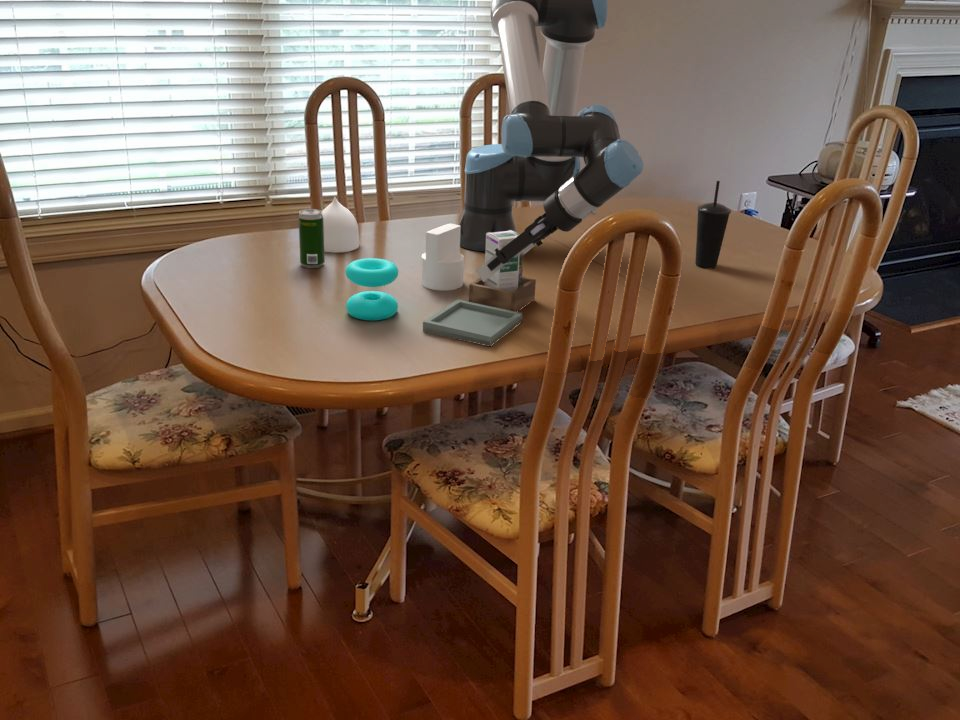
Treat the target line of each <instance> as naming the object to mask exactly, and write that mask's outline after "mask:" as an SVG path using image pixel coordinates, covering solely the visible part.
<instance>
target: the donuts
mask: <svg viewBox="0 0 960 720" xmlns="http://www.w3.org/2000/svg"><path fill="white" fill-rule="evenodd" d="M345 275H346V277H347V279H348V280H349V281H350V282H351V283H353V284H355V285H357V286H361V287H365V288H366V287H367V288H380V287H383V286H387V285H390V284H392V283H393V282H394V281H396V279H397V277H398V276H399V269H398V266H397V265H396V264H395V263H393V262H392V261H390V260H387V259H383V258H376V257H374V258H373V257H368V258H367V257H366V258H361V259H360V258H358V259H356V260H353V261H351V262H350V263H349V264H348V265H347V266H346V269H345ZM345 306H346V307H345V308H346V311H347V313H348V314H349V315H350V316H351V317H352V318H356V319H359V320H362V321H372V322H373V321H382V320H386V319H389V318H392V317H393V316H394V315H395V314H396V313H397V312H398V309H399V303H398V302H397V300H396V298H395V297H393V296H392V295H391V294H389V293H386V292H382V291H379V290H378V291H377V290H367V291H361V292H357V293H355V294H353V295H352V296H350V297H349V298H348V299H347V302H346V304H345Z"/></svg>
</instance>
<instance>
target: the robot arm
mask: <svg viewBox="0 0 960 720" xmlns="http://www.w3.org/2000/svg"><path fill="white" fill-rule="evenodd" d="M608 5H609V4H608V0H492V1H491V6H490V22H491V27H492V28H491V29H492V30H493V32H494V33H495V35H496V36H498V42H499V49H500V56H501V61H502V62H501V63H502V69H503V75H504V82H505V89H506V94H507V102H508V108H509V114H507V115H505V116H504V117H503V119H502V123H501V133H500V137H501V143H494V144H485V145H481V146H477V147H475V148H472V149H471V150H469V151H468V153H467V154H466V159H465V168H464V173H465V174H464V175H465V177H464V178H465V179H464V198H463V199H464V201H463V202H464V205H463V212H462V215H461V218H460V221H459V223H458V225H460V226H461V229H460V248H464V249H467V250H471V251H478V252H486V233H493V232H503V231H509V230H512V231H514V232H517V233H518V231H517V230H518V229H517V228H516V224H515V220H514V217H513V216H514V215H513V205H514V204H513V202H543V205H542V206H543V210H544V214H541V215H539V216H538V217H537V218H536V219H534V221H533V222H532V223H531V224H529V225H528V226H526V228H525V229H524V230H523V231H522V232H521V233H519V234H520V235H519V236H517V237H516V238H515V239H514V240H512V241H511V242H510V243H508V244H507V245H506V246H504V247H503V248H502V249H501V250H498V248H496V249H495V252H496V254H495V255H494V256H492V257H491V258H490V259H489V260H488V261H486V262H485V261H484V263H483V264H482V265H480V266H479V267H478V268H477V269H475V273H476V274H477V275H478V277H479V278H481V279H482V281H483V282H484V281H486V280H487V279H488V278H489V277H491V276H492V275H493V274H494V273H496V272H497V271H498V270H499V269H500V268H502V267H503V266H504V265H505V264H507V263H508V261H509V260H510V259H511V258H513V257H514V256H515V255H517V254H518V253H519V252H521V251H522V250H523V249H524V254H523V256H524V255H526V254H527V253H528V252H529V251H530V250H531V249H533V248H534V247H535V246H537V247H538V248H539V247H541V246H542V245H543V244H544V242H543V240H545V239H546V238H548V237H549V236H550V235H551V234H553V233H555V232H556V231H557V230H560V231H562V232H564V233H565V232H566V233H567V232H570V231H572V230H573V229H574V228H575V227H577V226H578V225H579V224H581V223H582V222H583V220H584V219H586V218H588V217H589V216H590V215H591V214H592V216H593V215H597V213H598V210H597V209H599V208H601V206H603V205H604V204H605V203H607V202H608V201H609V200H610V199H612V198H613V197H614V196H616V195H617V194H618V193H620V192H621V191H622V190H623V189H624V188H626V187H628V186H629V185H631V183H632V182H633V181H634V180H636V178H637V177H639V175H641V174H642V172H643V170H644V162H643V159H642V157H641V156H640V154H639V151H638V150H637V149H636V148H635V146H634V145H633V144H632V143H631V142H629V141H628V140H626V139H623V138H621V135H620V131H619V126H618V123H617V121H616V119H615V117H614V115H613V112H612V111H611V110H610V109H609V107H607V106H605V105H603V104H592V105H591V104H590V105H589V106H587V107H583V108H582V109H581V110H580V111H579V112H578V113H577V115H575V113H576V107H577V101H578V96H579V95H578V94H579V88H580V81H581V76H582V71H583V70H582V69H583V63H584V56H585V51H586V45H588V44H589V43H591V42H592V41H593V40H594V38H595V33H596V29H597V30H601V29H602V28H604V27H605V25H606V23H607V19H608ZM537 27H540V34H541V35H542V37H543V39H544V40H545V41H546V42H545V49H544V55H543V57H544V58H543V64H542V59H541V54H540V48H539V43H538V37H537V31H536V28H537ZM580 158H583V162H584V167H583V168H581V159H580Z"/></svg>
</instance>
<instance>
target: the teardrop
mask: <svg viewBox="0 0 960 720" xmlns="http://www.w3.org/2000/svg"><path fill="white" fill-rule="evenodd" d="M321 211H322V214H323V221H324V253H336V254H337V253H348V252H351V251H354V250H357V249H358V248H359V247H360V233H359V224H358V222H357V218H356V217H355V216H354V214H353V213H352V212H351V211H350V210H349V209H348V208H347V207H345V206H344V205H342V203H340V202H339V200H338V199H337V197H336V196H334V197H333V200H332V201H331V202H330V203H329V205H327V206H326V207H325V208H324V209H323V210H321Z"/></svg>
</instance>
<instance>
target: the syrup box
mask: <svg viewBox="0 0 960 720" xmlns="http://www.w3.org/2000/svg"><path fill="white" fill-rule="evenodd" d="M520 234H521V233H520V232H518V231H517V232H514V231H512V230H509V231H503V232H493V233H486V251H484V252H485V253H484V254H485V257H484V263H485V262H486V261H488V260H489V259H490V258H491V257H492V256H494V255H495V254H496V252H495V249H496V248H498V250H501V249H502V248H503V247H504V246H506V245H507V244H508V243H510V242H511V241H512V240H514V239H515V238H516V237H517V236H519V235H520ZM523 254H524V249H523V250H522V251H521V252H519V253H518V254H517V255H515V256H514V257H513V258H511V259H510V260H509V261H508V263H507V264H505V265H504V266H503V267H502V268H500V269H499V270H498V271H497V272H496V273H494V274H493V275H492V276H491V277H489V278H488V279H487V280H486V281H485V283H484V286H487V287H492V288H497V289H502V290H507V291H512V292H514V291H515V290H517V289H518V288H520V287H521V286H522V277H523V273H524V272H523V269H524V255H525V254H524V255H523Z"/></svg>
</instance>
